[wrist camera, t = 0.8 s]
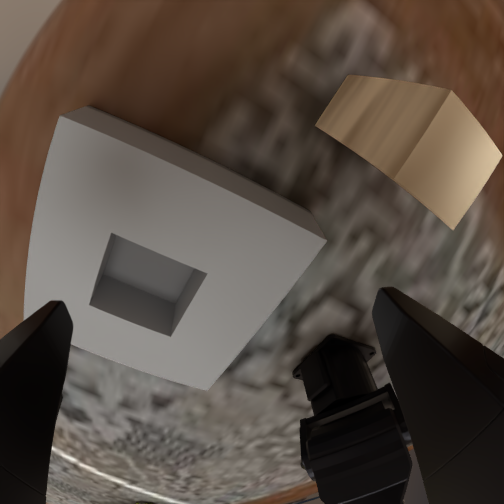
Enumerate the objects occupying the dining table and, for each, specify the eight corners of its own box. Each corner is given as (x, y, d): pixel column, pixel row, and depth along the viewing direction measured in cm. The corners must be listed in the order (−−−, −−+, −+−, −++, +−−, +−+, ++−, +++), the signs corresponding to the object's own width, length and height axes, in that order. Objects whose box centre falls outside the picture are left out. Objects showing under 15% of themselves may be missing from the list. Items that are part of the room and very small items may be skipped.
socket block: (310, 211, 21) (327, 240, 18) (207, 355, 28) (207, 390, 25) (88, 105, 16) (59, 115, 13) (41, 290, 23) (23, 321, 19)
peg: (394, 110, 18) (502, 155, 9) (362, 158, 20) (452, 230, 11) (348, 74, 17) (451, 90, 8) (314, 125, 18) (393, 179, 10)
